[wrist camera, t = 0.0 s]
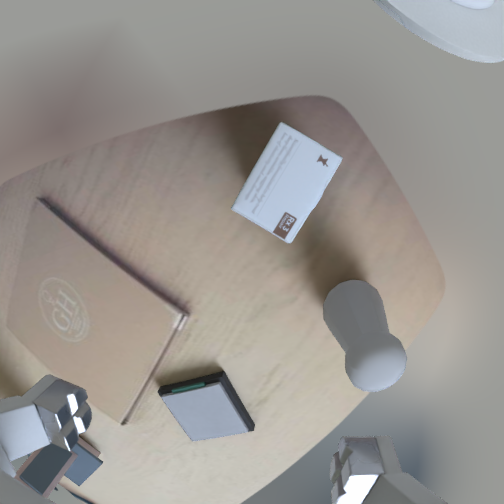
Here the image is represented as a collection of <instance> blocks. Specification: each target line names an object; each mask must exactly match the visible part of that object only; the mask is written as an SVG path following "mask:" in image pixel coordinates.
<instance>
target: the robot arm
mask: <svg viewBox="0 0 504 504" xmlns="http://www.w3.org/2000/svg"><path fill="white" fill-rule="evenodd" d="M450 1H452V2H454V3H456V4H459V5H461V6H464V7H468V8H472V9H486V8H489V7H491V6H492V5H493V3H494V2H495V0H450ZM87 398H88V396H87V393H86V390H85V389H83V388H81V387H79V386H76V385H74V384H72V383H69V382H67V381H64V380H62V379H59V378H57V377H55V376H53V375H46V376H44V377H43V378H42V379H41V380H40V381H39V382H38V383H36V384H35V385H34V386H33V387H32V388H31V389H30V390H28V391H27V392H26V393H25V394H24V395H23V396H22V397H21V396H19V395H18V396H14V397H9V398H5V399H1V400H0V504H56V503H54V502H53V501H51V500H49V499H47V498H45V497H44V496H42V495H40V494H39V493H37V492H35V491H34V490H32V489H30V488H29V487H27V486H26V485H24V484H23V483H21V482H19V481H18V480H16V479H15V478H14V477H15V475H16V470H15V468H14V467H13V465H12V463H11V462H10V461H12V460H15V459H17V458H19V457H22V456H24V455H26V454H29V453H31V452H33V451H35V450H38V449H40V448H42V447H44V446H47V445H49V444H50V443H52V444H54V445H57V446H59V447H61V448H63V449H65V450H68V451H71V449H72V448H73V447H74V446H75V444H76V443H77V442H78V440H79V434H80V433H83V432H85V431H86V430H87V429H88V427H89V425H90V422H91V419H92V412H91V408H90V406H89V405H88V404H87V403H86V400H87ZM338 449H339V451H338V452H337V453H335V454H334V456H333V459H332V461H331V467H330V481H331V482H332V483H333V484H334V487H333V489H332V491H331V496H332V504H448V503H447V502H445V501H444V500H442V499H441V498H440V497H438V496H437V495H436V494H434V493H433V492H431V491H430V490H429V489H428V488H426V487H425V486H424V485H422V484H421V483H419V482H418V481H417V480H416V479H414V478H413V477H412V476H411V475H409V474H408V473H402V470H401V467H400V463H399V460H398V457H397V454H396V451H395V448H394V445H393V442H392V439H391V437H390V436H374V437H373V436H365V437H363V436H362V437H342V438H341V439H340V441H339V443H338Z"/></svg>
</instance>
